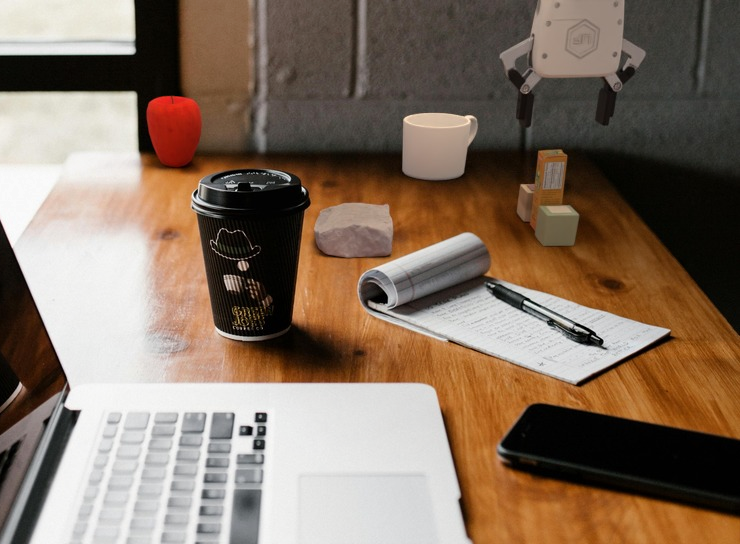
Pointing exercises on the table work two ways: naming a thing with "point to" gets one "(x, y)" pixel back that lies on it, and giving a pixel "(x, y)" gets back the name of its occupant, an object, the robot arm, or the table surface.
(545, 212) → the near letter block
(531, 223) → the supplement box
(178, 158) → the apple
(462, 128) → the mug
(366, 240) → the stone block
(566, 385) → the table surface
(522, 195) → the far letter block
